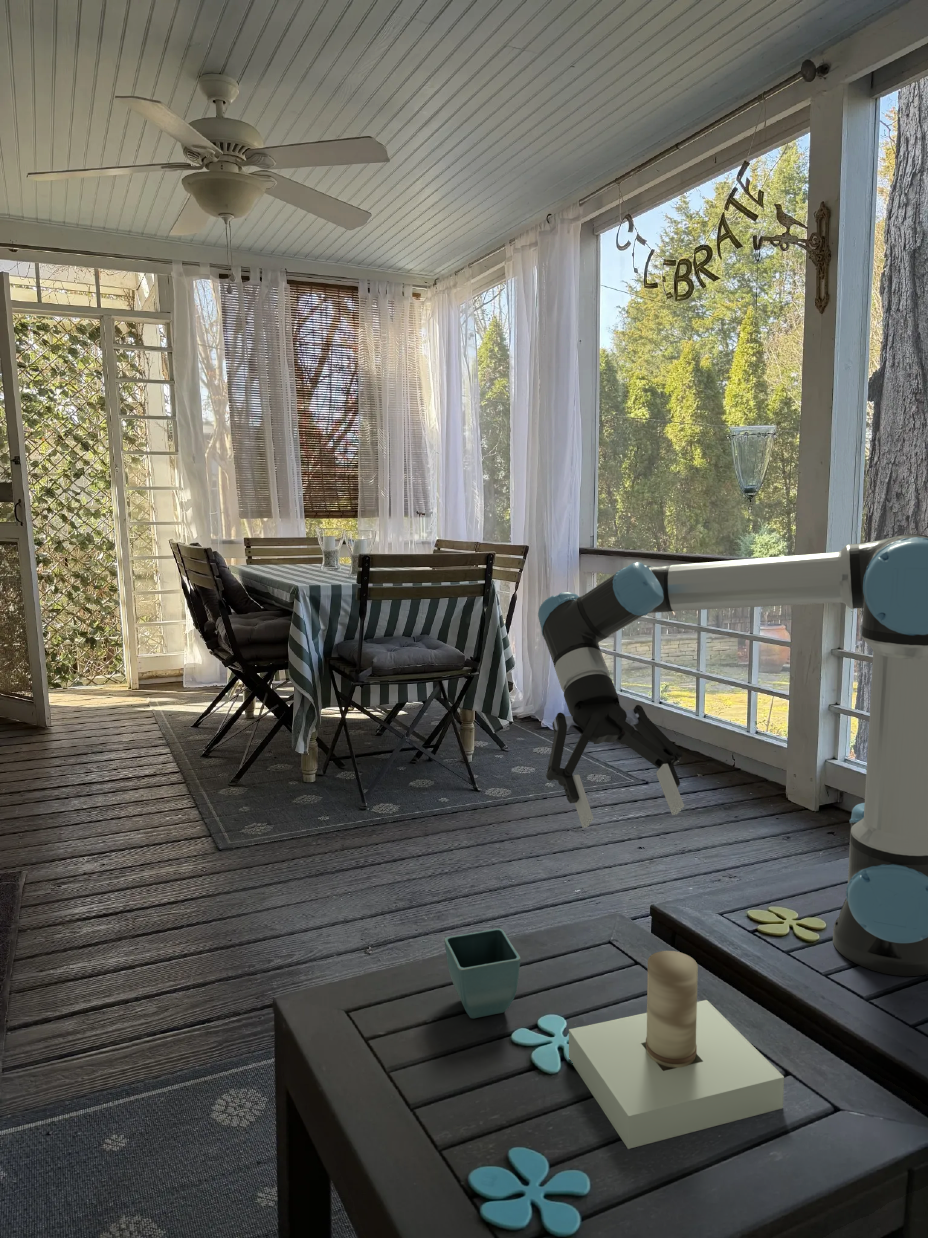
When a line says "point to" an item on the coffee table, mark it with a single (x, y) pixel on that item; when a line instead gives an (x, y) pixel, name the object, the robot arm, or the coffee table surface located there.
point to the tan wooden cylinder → (671, 1009)
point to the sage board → (673, 1078)
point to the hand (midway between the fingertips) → (634, 817)
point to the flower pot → (483, 971)
